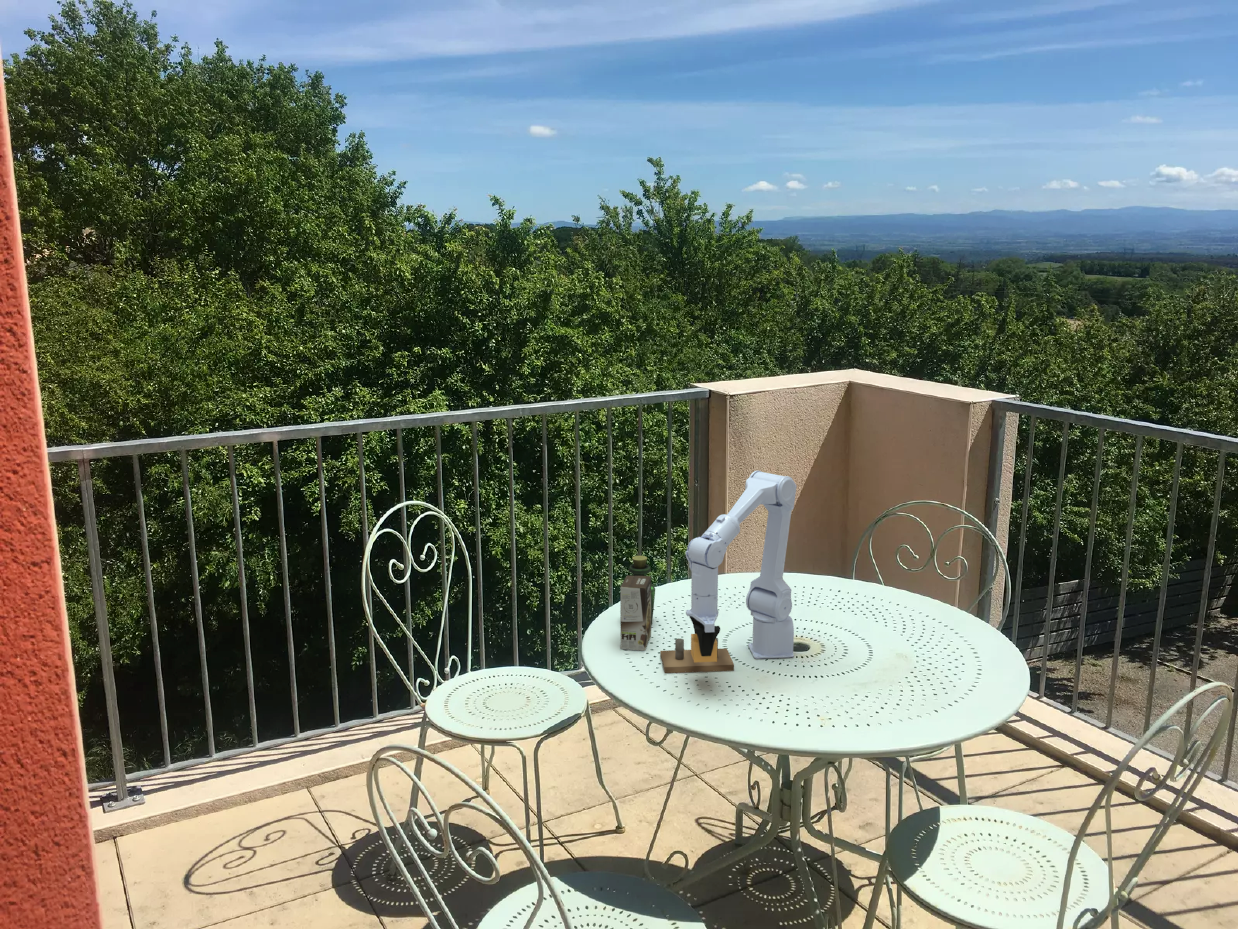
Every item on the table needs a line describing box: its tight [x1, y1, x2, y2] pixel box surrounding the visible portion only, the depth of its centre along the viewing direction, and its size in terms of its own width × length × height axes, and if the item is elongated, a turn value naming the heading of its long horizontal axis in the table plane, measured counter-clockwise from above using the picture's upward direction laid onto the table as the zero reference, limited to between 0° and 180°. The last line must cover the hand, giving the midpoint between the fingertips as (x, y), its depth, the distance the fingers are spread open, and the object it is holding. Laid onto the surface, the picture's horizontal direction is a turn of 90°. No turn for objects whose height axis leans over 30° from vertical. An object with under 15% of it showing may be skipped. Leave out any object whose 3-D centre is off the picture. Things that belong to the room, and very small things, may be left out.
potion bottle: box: [628, 555, 656, 626], centre depth 228 cm, size 8×8×18 cm
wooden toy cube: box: [690, 633, 717, 662], centre depth 195 cm, size 5×5×4 cm
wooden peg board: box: [659, 637, 735, 674], centre depth 206 cm, size 16×9×6 cm, turn 94°
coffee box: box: [619, 574, 652, 652], centre depth 217 cm, size 9×6×16 cm
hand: (703, 650), depth 195 cm, fingers closed on wooden toy cube, 5 cm apart
